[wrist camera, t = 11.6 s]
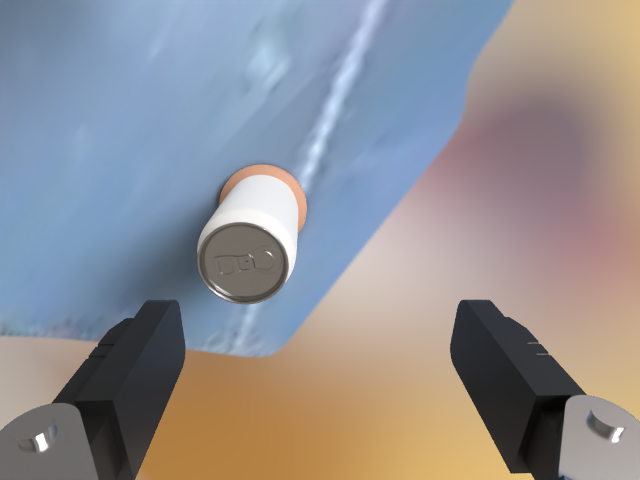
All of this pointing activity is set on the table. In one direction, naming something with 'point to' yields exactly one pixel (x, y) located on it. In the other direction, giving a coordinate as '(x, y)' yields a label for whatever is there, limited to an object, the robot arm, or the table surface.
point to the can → (250, 241)
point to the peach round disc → (274, 172)
